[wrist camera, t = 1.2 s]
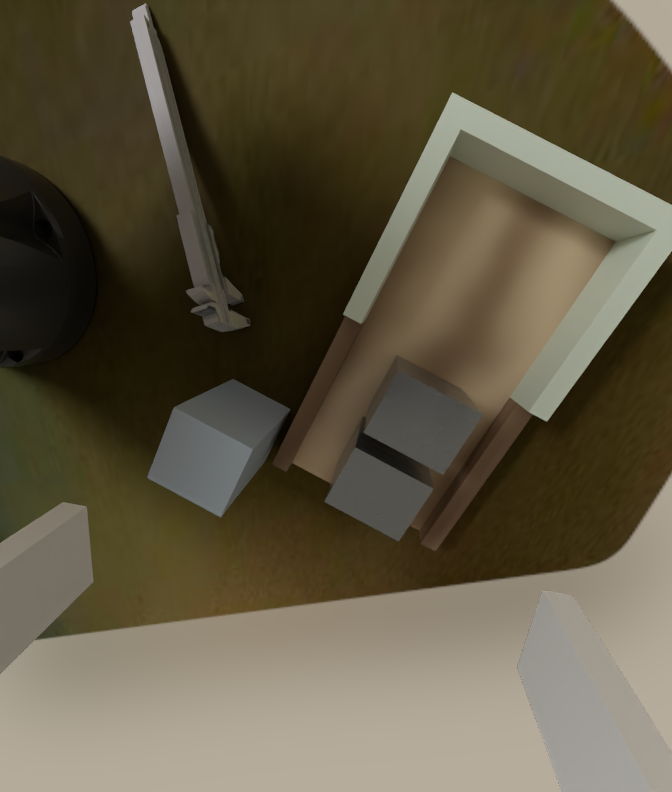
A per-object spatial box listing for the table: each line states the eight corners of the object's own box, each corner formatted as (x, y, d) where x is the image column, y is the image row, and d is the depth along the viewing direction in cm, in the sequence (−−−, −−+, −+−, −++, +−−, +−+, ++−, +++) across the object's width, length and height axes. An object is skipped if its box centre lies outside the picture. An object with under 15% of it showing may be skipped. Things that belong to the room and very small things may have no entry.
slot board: (281, 451, 29) (271, 464, 27) (440, 131, 22) (446, 111, 20) (431, 531, 29) (435, 551, 26) (639, 233, 22) (667, 225, 20)
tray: (349, 312, 25) (342, 314, 21) (442, 125, 21) (452, 92, 18) (525, 405, 25) (546, 421, 21) (647, 231, 21) (696, 217, 18)
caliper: (254, 325, 27) (216, 331, 21) (241, 329, 27) (199, 336, 21) (151, 8, 23) (67, -96, 17) (136, 16, 23) (48, -84, 17)
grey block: (210, 432, 30) (146, 477, 22) (233, 378, 28) (173, 407, 20) (265, 461, 29) (220, 517, 22) (290, 409, 28) (252, 449, 20)
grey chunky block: (369, 404, 26) (363, 432, 20) (396, 354, 25) (398, 370, 19) (431, 437, 26) (443, 474, 20) (462, 389, 25) (483, 414, 19)
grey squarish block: (337, 460, 28) (324, 501, 22) (362, 415, 26) (355, 447, 21) (397, 491, 28) (398, 541, 22) (424, 448, 26) (433, 489, 21)
